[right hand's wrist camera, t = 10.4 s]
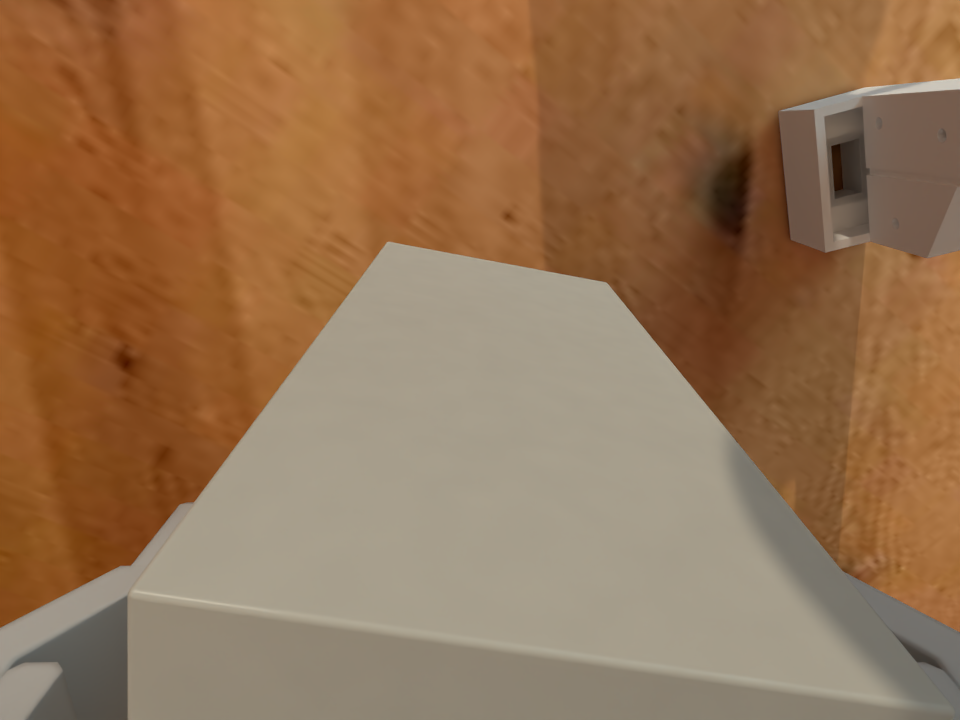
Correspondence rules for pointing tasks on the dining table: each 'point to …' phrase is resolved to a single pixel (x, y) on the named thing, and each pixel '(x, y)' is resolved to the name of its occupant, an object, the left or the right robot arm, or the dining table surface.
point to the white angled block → (876, 168)
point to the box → (500, 534)
